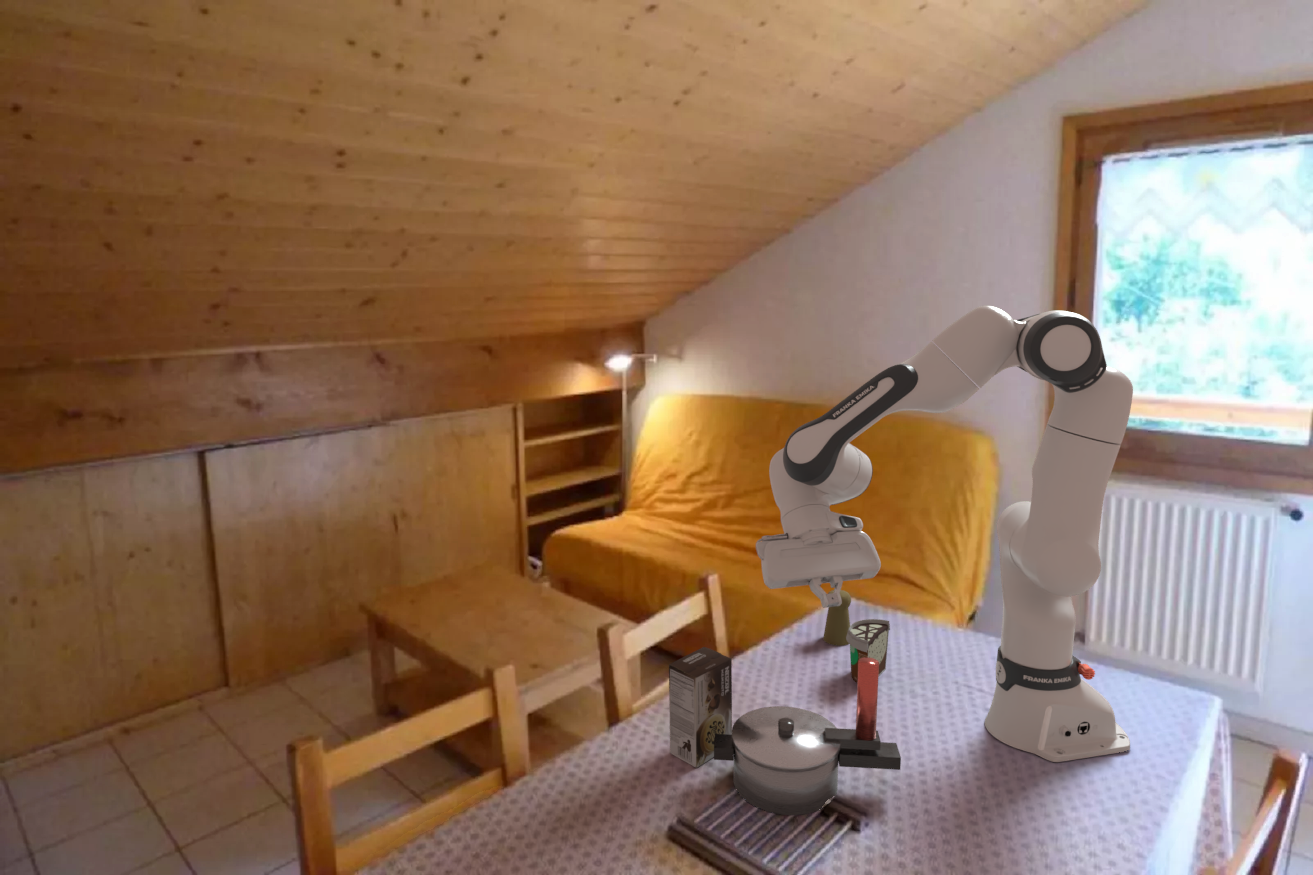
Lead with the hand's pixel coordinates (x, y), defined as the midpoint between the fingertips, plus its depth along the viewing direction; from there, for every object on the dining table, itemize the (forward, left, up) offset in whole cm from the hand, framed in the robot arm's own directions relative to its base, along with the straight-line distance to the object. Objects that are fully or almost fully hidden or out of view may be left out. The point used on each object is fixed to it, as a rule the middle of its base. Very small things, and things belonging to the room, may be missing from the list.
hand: (832, 605), depth 136 cm
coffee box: (+22, +2, -24) cm, 33 cm away
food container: (-12, -23, -24) cm, 35 cm away
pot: (+7, +12, -24) cm, 28 cm away
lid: (+7, +12, -17) cm, 22 cm away
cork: (-11, -39, -24) cm, 47 cm away
